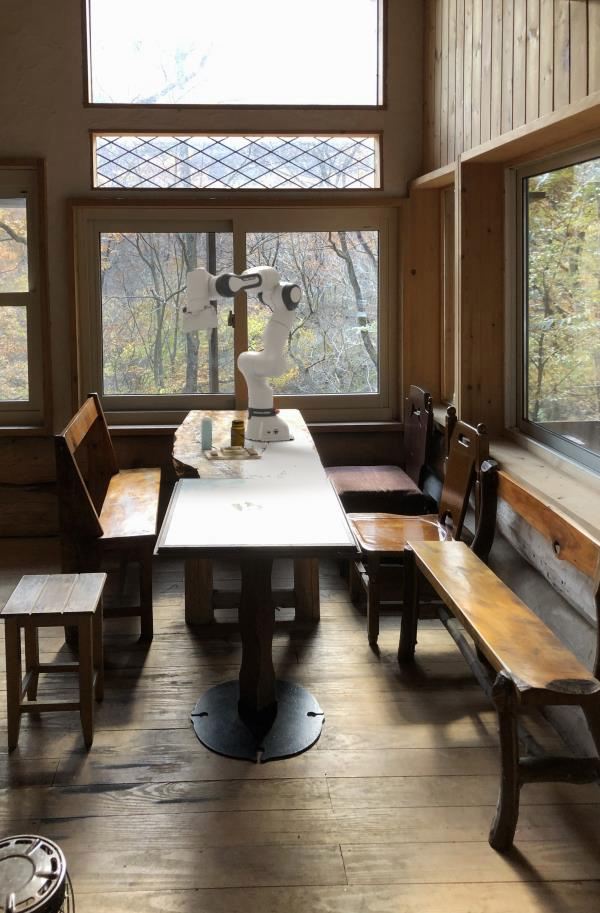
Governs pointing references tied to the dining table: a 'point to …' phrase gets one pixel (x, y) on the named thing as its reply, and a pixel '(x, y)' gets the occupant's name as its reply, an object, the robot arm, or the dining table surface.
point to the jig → (232, 453)
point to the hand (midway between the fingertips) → (201, 341)
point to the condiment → (237, 434)
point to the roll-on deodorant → (206, 434)
